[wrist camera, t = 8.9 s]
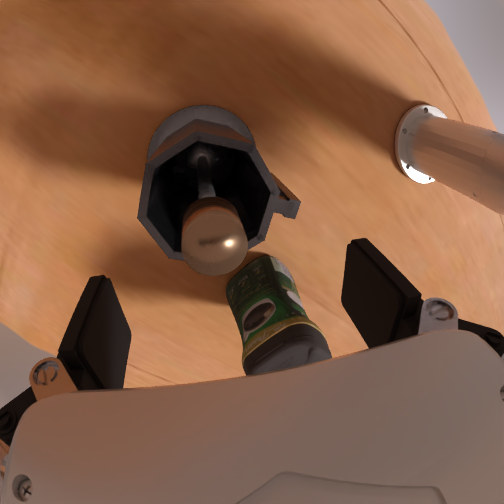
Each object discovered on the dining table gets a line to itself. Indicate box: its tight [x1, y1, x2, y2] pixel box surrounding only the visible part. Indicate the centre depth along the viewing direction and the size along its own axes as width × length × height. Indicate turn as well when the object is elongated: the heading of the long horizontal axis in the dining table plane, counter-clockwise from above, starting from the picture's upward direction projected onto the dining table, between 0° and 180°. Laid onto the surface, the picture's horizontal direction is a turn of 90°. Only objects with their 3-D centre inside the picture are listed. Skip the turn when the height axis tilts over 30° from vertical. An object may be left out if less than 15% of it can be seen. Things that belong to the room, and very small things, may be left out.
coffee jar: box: [226, 256, 332, 376], centre depth 37 cm, size 10×8×19 cm
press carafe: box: [137, 105, 301, 261], centre depth 27 cm, size 14×13×17 cm
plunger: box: [171, 141, 248, 276], centre depth 24 cm, size 7×7×22 cm
